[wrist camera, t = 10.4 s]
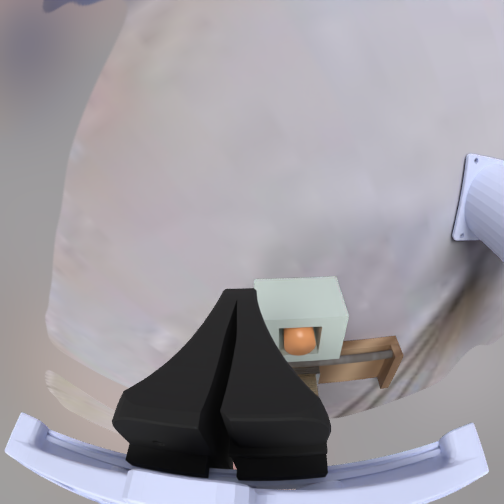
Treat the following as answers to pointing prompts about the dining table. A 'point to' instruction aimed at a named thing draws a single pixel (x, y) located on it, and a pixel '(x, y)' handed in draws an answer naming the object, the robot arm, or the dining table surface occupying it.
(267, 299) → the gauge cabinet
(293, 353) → the orange rounded peg
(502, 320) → the dining table surface
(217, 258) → the dining table surface
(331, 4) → the dining table surface
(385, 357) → the rail deck
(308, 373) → the block
